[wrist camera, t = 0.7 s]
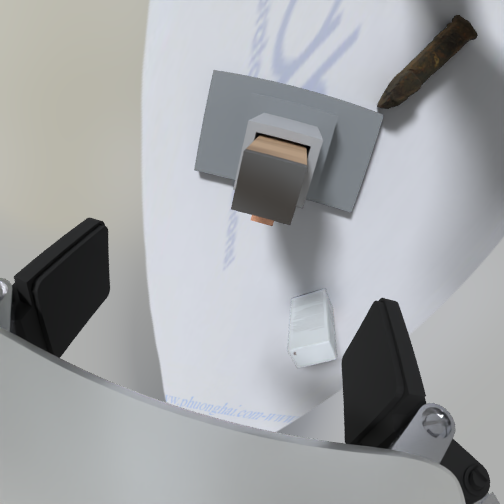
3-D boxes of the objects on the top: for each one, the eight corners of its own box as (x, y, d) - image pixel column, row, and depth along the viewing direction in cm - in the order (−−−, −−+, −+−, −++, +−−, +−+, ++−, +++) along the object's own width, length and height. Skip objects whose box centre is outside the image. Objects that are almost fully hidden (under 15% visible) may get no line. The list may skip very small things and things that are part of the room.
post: (270, 124, 33) (243, 150, 19) (306, 133, 33) (307, 167, 19) (262, 157, 35) (230, 209, 21) (296, 166, 35) (290, 225, 21)
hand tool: (451, 16, 27) (465, 10, 23) (469, 39, 27) (484, 36, 23) (362, 90, 35) (369, 90, 31) (382, 113, 36) (391, 116, 32)
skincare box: (299, 316, 53) (296, 369, 43) (290, 297, 51) (285, 350, 41) (334, 307, 51) (337, 360, 41) (326, 287, 49) (329, 339, 39)
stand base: (216, 70, 36) (167, 61, 22) (381, 114, 36) (424, 128, 22) (197, 167, 43) (147, 208, 29) (349, 208, 43) (369, 268, 29)
